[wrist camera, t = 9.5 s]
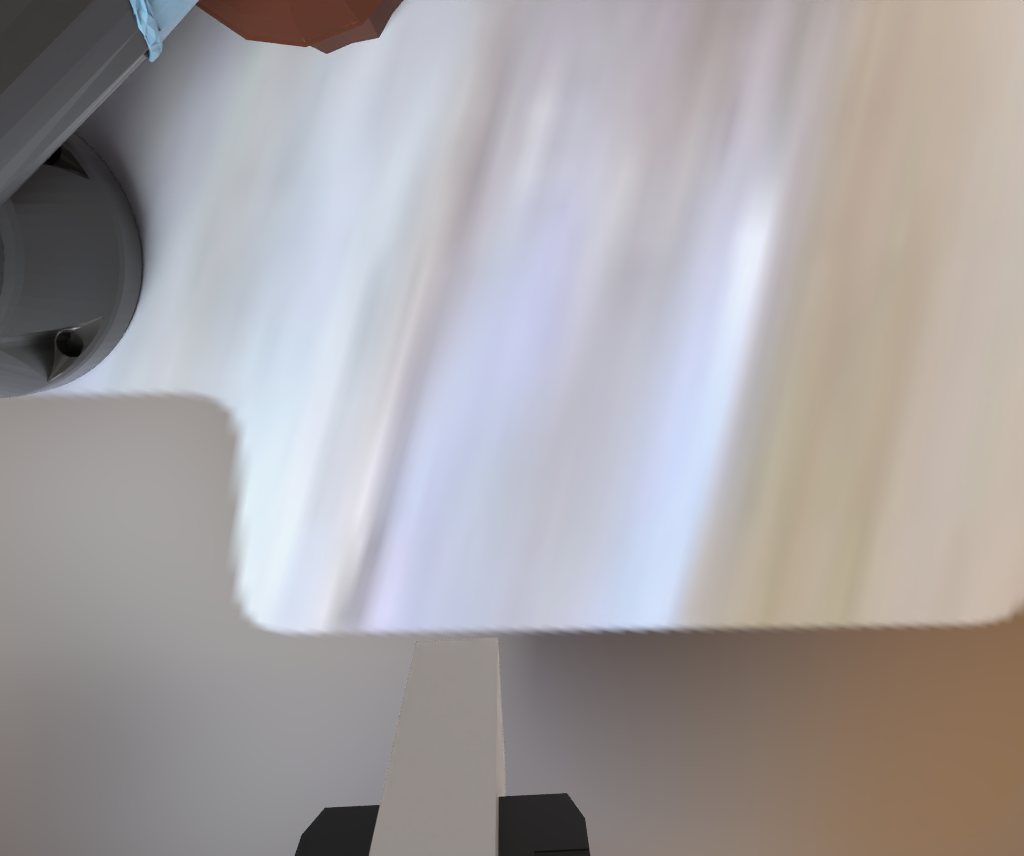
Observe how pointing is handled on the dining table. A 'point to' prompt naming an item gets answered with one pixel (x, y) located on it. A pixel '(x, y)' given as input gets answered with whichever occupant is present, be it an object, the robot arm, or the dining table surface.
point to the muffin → (304, 20)
